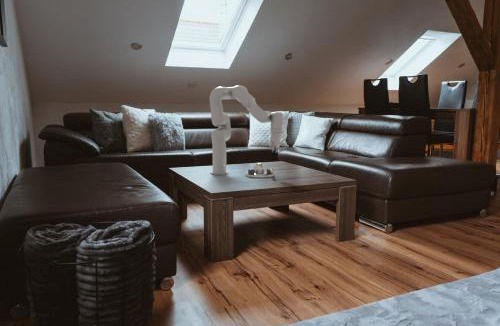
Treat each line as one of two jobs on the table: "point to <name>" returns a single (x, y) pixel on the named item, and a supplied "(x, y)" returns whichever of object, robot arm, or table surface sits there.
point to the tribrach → (258, 172)
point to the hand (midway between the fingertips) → (274, 158)
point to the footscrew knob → (269, 171)
